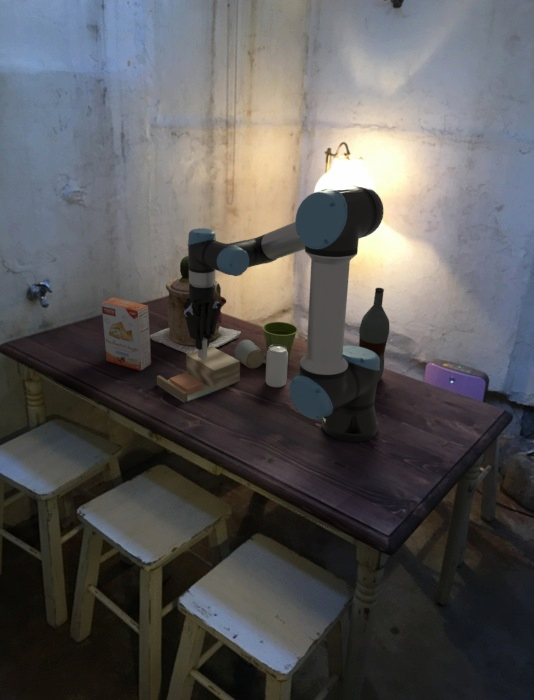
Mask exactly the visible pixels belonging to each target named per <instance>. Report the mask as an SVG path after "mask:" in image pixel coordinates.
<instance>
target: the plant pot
mask: <svg viewBox="0 0 534 700" xmlns="http://www.w3.org/2000/svg"><path fill="white" fill-rule="evenodd" d="M262 331H263V332H264V337H265V345H266V346H265V347H266V352H267V351H268V349H269V346H271V345H283V346H285V347H286V348H287V352H288V361H289V359H290V356H291V352H292V348H293V344H294V340H295V338H296V334H297V333H298V331H299V328H298V327H297V326H296V325H295V324H292V323H290V322H286V321H271V322H267V323H265V324H263V325H262Z"/></svg>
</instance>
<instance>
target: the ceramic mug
mask: <svg viewBox="0 0 534 700" xmlns="http://www.w3.org/2000/svg"><path fill="white" fill-rule="evenodd" d="M233 352H234V353H233V354H234V356H235V357H234V358H235V359H237V360H239V361H240V364H242V365H244V366H245V367H246V368H248V369H251V370H253V369H257V368H259V367H261V366H262V365H263V364H266V360H267V355H265V354H264V352H263V350H262V349H261V348H260V347H258V346H257V344H255V343H254V342H253V341H252V340H249V339H243V340H241V341H239V343H237V345H236V346H235V348H234V351H233Z"/></svg>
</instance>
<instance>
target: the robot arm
mask: <svg viewBox="0 0 534 700" xmlns="http://www.w3.org/2000/svg"><path fill="white" fill-rule="evenodd" d="M383 218H384V203H383V202H382V199H381V197H380V196H379V194H378V193H377V192H376V191H375V190H373V189H372V188H370V187H367V186H366V185H365V186H363V185H352V186H345V187H337V188H326V189H321V190H320V191H316V192H313V193H311V194H309V195H307V196H306V197H305V198H304V199H303V200H302V201H301V203H300V204H299V206H298V208H297V211H296V215H295V221H294V222H292V223H289V224H286V225H285V226H281V227H279V228H277V229H275V230H272V231H270V232H267V233H264V234H261V235H259V236H257V237H253V238H250V239H243V240H239V241H234V242H230V243H225V242H221V241H218V240H217V237H216V232H215V231H214V229H212V228H205V227H204V228H202V227H201V228H194V229H191V230H189V232H188V240H187V241H188V242H187V250H188V255H187V256H188V259H189V283H190V285H189V296H190V303H189V307H188V308H187V309H186V310H183V311H182V313H183V314H184V316H185V318H186V322H187V326H188V330H189V334H190V337H191V338H193V339H195V340H196V348H197V349H198V357H199V358H201V359H202V360H205V359H207V347H209V339H211V335H214V333H215V328H216V323H217V318H218V313H219V310H220V308H221V306H222V304H221V303H219V302H216V301H215V298H214V297H215V284H214V283H215V280H216V271H218V272H221V273H222V274H224V275H227V276H233V277H239V276H242V275H243V273H245V272H246V271H247V270H248V268H251V267H256V266H260V265H266V264H269V263H273V262H275V261H276V260H278V259H280V258H284V257H287V256H289V255H292V254H295V253H299V252H301V251H304V252H305V253H306V255H307V256H309V258H310V259H311V260H310V261H311V262H310V263H311V264H310V278H309V279H310V280H309V297H308V298H309V299H308V304H309V305H308V317H307V318H308V322H307V341H306V354H305V355H304V356H303V357H301V359H300V361H299V371H298V372H299V374H298V375H296V376H295V377H294V378H293V379H292V380H291V381H290V382H289V386H288V391H289V397H290V399H291V402H292V404H293V406H295V408H296V410H297V411H298V412H299V413H300V414H301V415H303V416H305V417H306V418H309V419H310V420H321V428H322V430H323V431H324V432H325V433H326V434H327V435H328V436H330V437H332V438H333V439H336V440H337V441H342V442H345V443H346V442H347V443H362V442H363V443H364V442H366V441H371V440H372V439H373V438H374V437H375V436H376V435H377V433H378V427H379V421H378V419H377V413H376V409H375V408H376V407H375V401H376V393H377V389H378V387H377V386H378V383H379V382H378V375H379V370H380V368H379V366H380V358H379V357H378V355H377V354H376V353H375V352H373V351H371V350H369V349H366V348H362V347H359V345H358V346H357V345H344V340H345V339H344V338H345V327H346V326H345V325H346V315H347V301H348V300H347V299H348V288H349V276H350V275H349V274H350V265H351V264H350V263H351V260H353V258H355V257H356V256H357V255H358V250H359V249H358V248H359V239H362V238H365V237H368V236H370V235H372V234H373V233H374V232H375V231H376V230H377V229H378V228H379V227H380V225H381V223H382V220H383ZM222 307H223V306H222ZM221 309H222V308H221ZM192 311H193V312H194V317H195V322H194V318H193V316H192V315H193V313H192Z"/></svg>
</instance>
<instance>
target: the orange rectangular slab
mask: <svg viewBox="0 0 534 700" xmlns="http://www.w3.org/2000/svg"><path fill="white" fill-rule="evenodd" d="M168 380H169V381H170V382H171V383H173V384H174V385H176V386H177V387H179V388H180V389H182V390H183V391H185V392H187V395H190V394H192V393H195V392H197V391H200V390H203V389H204V383H202V382H201V381H199V380H197V379H196V378H194V377H192V376H191V375H189V374H187V372H183V373H181V374H177V375H175V376H172V377H169V379H168Z"/></svg>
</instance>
